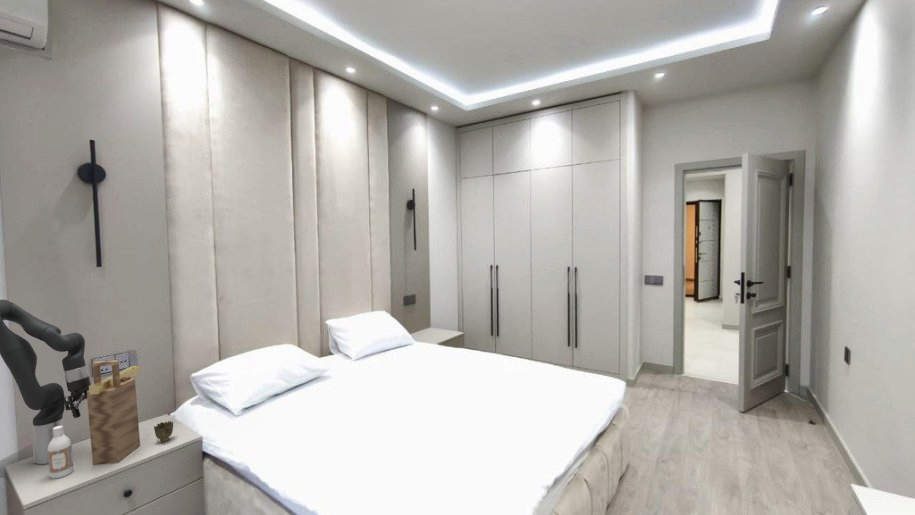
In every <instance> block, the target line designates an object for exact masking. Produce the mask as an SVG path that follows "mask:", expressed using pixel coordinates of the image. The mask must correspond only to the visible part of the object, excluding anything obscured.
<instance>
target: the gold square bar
mask: <svg viewBox="0 0 915 515" xmlns="http://www.w3.org/2000/svg"><path fill="white" fill-rule="evenodd" d="M119 373H120V383H121V382H122V380H123V379H125V378H127V377H130V379H132V378H133V377H135V376H137V375H138V374H140V373H141V366H140V365H131V366H129V367H127V368H125V369H122V370H119ZM111 387H113V376H112V375H110V376H107V377H106V378H104V379H101V381H99V382H97V383H95V384H94V383H93V384H91V385H90V386H89V394H99V393H101V392H103V391H105V390H107V389H109V388H111Z"/></svg>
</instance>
